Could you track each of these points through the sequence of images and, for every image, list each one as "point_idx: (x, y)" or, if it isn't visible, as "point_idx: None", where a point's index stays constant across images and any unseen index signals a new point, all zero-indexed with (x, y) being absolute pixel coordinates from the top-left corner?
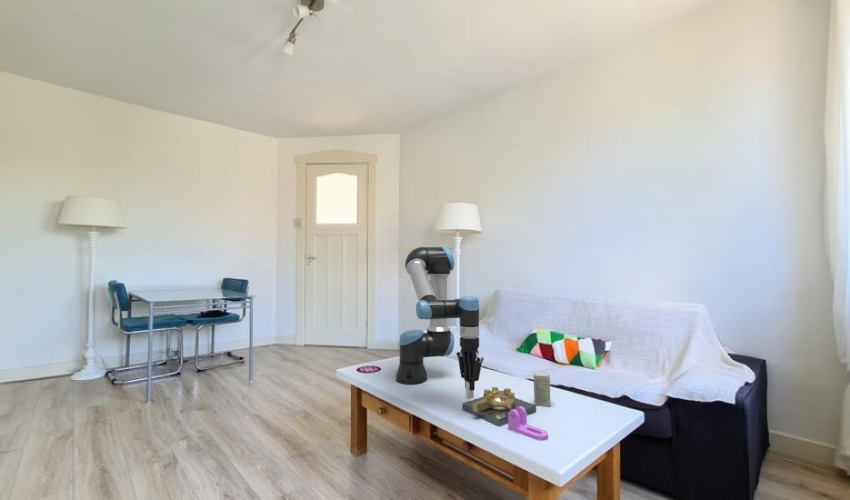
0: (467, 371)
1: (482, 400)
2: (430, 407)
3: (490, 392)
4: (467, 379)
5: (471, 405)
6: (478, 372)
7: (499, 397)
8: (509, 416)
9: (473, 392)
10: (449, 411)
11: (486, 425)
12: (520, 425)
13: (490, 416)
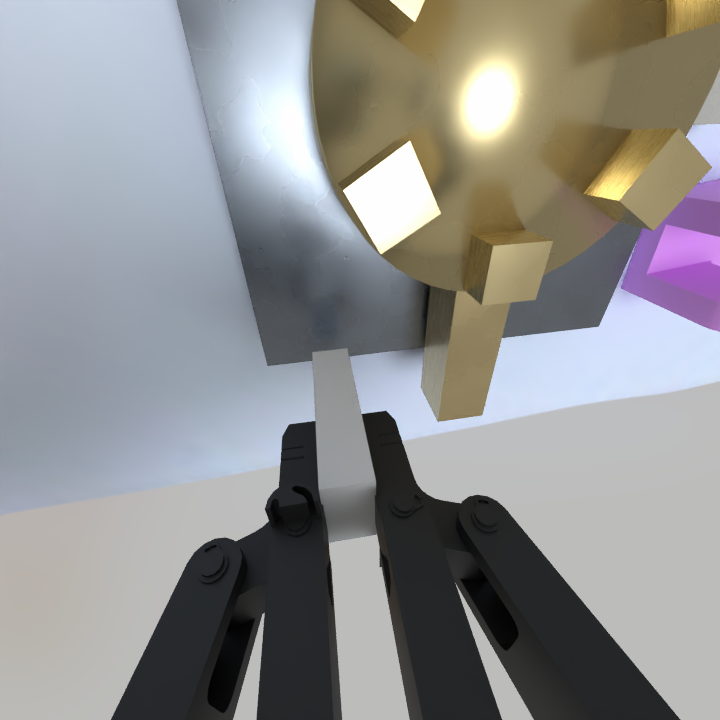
0: (339, 711)
1: (461, 346)
2: (160, 459)
3: (369, 93)
4: (328, 548)
5: (340, 339)
6: (620, 687)
7: (558, 142)
8: (698, 318)
9: (353, 380)
10: (259, 409)
11: (510, 351)
12: (706, 236)
13: (528, 331)
